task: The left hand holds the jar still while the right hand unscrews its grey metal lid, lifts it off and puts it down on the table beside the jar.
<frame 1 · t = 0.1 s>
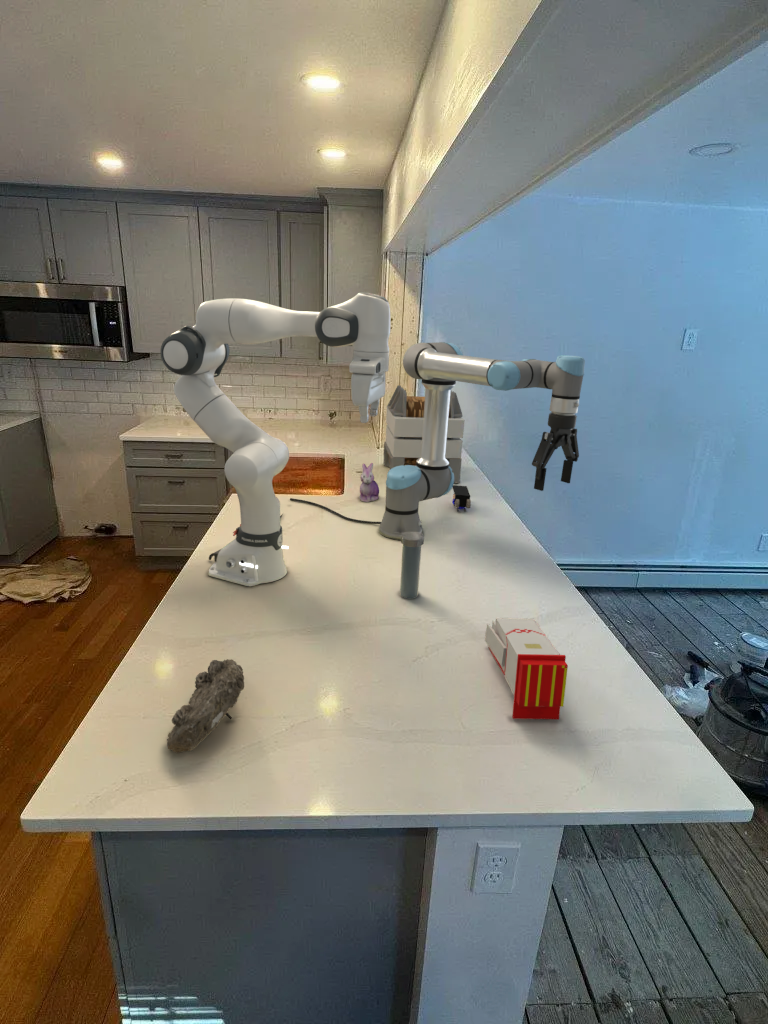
left hand: (369, 419, 144), 48 cm above the counter, tool pointing down, fingers open, 8 cm apart
right hand: (552, 485, 166), 28 cm above the counter, tool pointing down, fingers open, 13 cm apart
jar: (408, 594, 158), on the counter
feather: (281, 517, 210), on the counter
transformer: (419, 473, 275), on the counter
figurine character: (460, 507, 229), on the counter
lid: (412, 536, 152), point 17 cm above the counter, screwed on, not yet turned
figurine: (368, 499, 235), on the counter
fossil: (212, 717, 108), on the counter
toy: (517, 677, 124), on the counter
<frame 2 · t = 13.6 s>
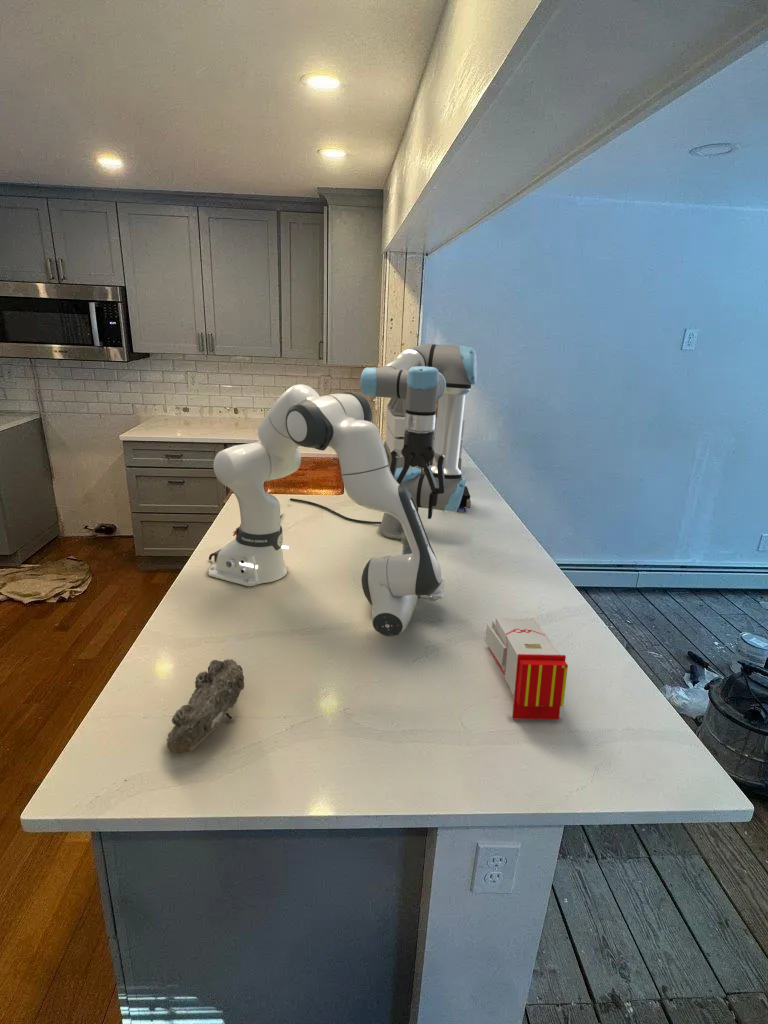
left hand: (410, 571, 157), 7 cm above the counter, tool horizontal, fingers closed on jar, 5 cm apart
right hand: (414, 515, 150), 24 cm above the counter, tool pointing down, fingers open, 8 cm apart
jar: (408, 594, 158), on the counter, touching left hand
everything else where it was.
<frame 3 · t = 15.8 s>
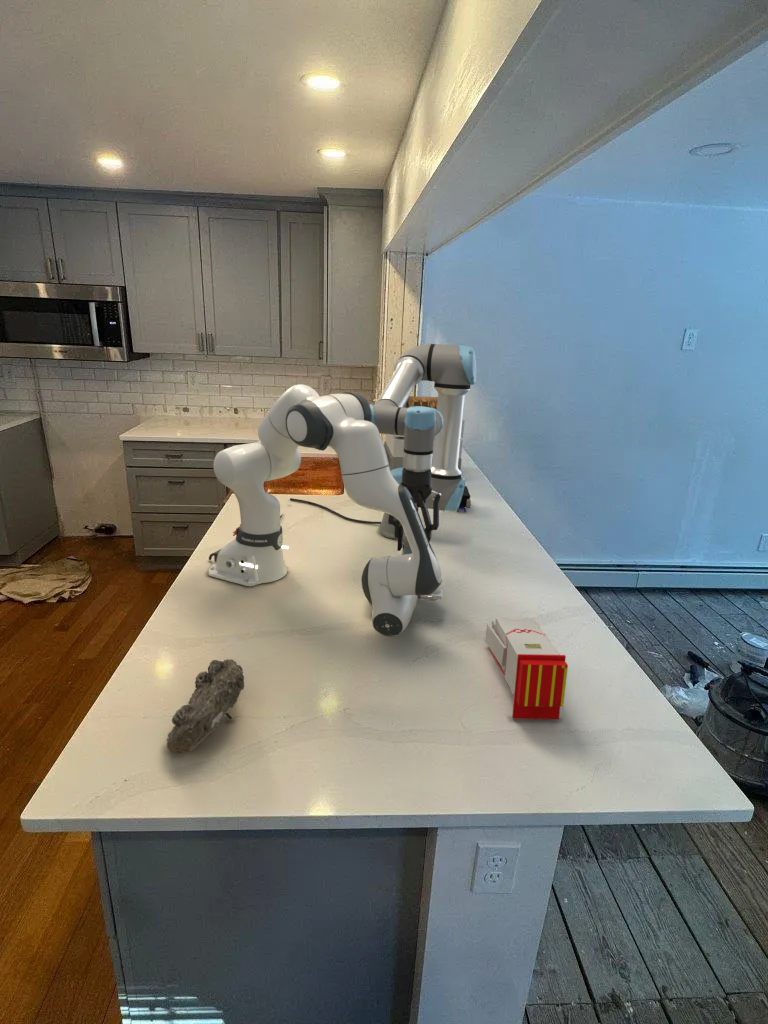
left hand: (410, 571, 157), 7 cm above the counter, tool horizontal, fingers closed on jar, 5 cm apart
right hand: (411, 550, 153), 13 cm above the counter, tool pointing down, fingers closed on lid, 6 cm apart
jar: (408, 594, 158), on the counter, touching left hand
lid: (412, 536, 152), point 17 cm above the counter, screwed on, not yet turned, touching right hand
everything else where it was.
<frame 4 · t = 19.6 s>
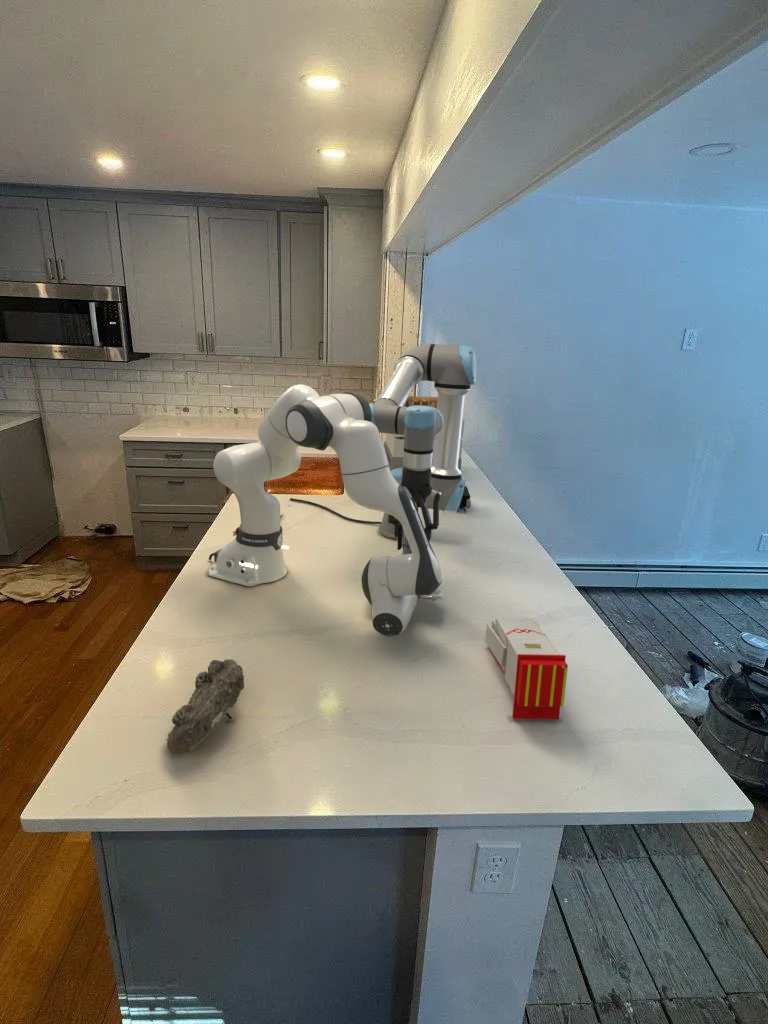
left hand: (410, 571, 157), 7 cm above the counter, tool horizontal, fingers closed on jar, 5 cm apart
right hand: (411, 549, 153), 14 cm above the counter, tool pointing down, fingers closed on lid, 6 cm apart
jar: (408, 594, 158), on the counter, touching left hand
lid: (412, 536, 152), point 18 cm above the counter, turned 136° so far, risen 0.2 cm, still on its thread, touching right hand
everything else where it was.
when the right hand's fingers open (0 cm above the counter, at t = 30.2 s): lid drops 2 cm, point 2 cm above the counter.
when the left hand's fingers open (7 cm above the counter, at t = 30.8 s): jar stays where it is, on the counter.
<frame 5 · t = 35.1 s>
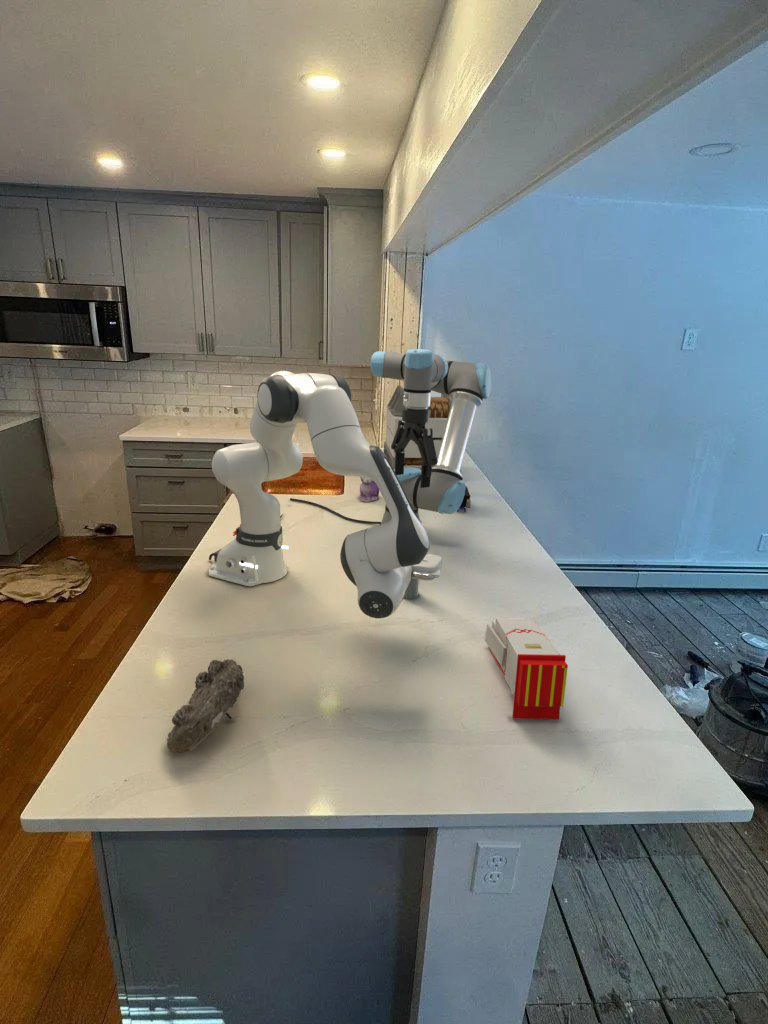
left hand: (404, 549, 140), 19 cm above the counter, tool horizontal, fingers open, 8 cm apart
right hand: (411, 480, 164), 28 cm above the counter, tool pointing down, fingers open, 13 cm apart
jar: (408, 594, 158), on the counter
lid: (405, 563, 173), point 2 cm above the counter, off its thread
everything else where it was.
at the end: lid came off its thread; lid point 1.7 cm above the counter; the left hand is holding nothing; the right hand is holding nothing; jar tilted 0°; jar moved 0.0 cm from its start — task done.
